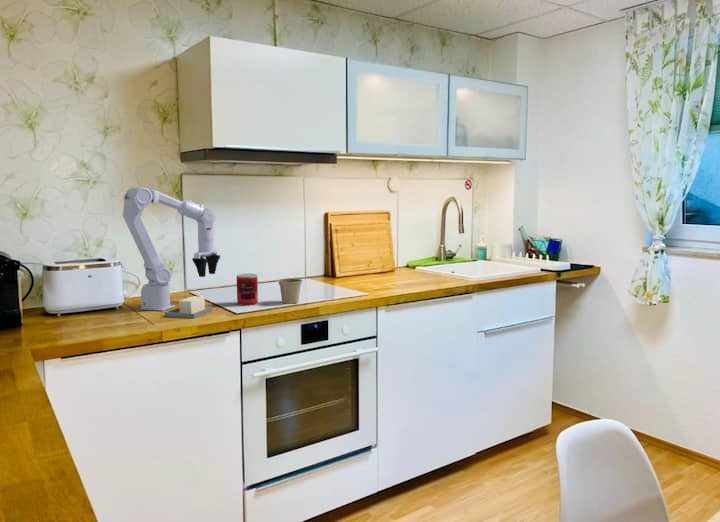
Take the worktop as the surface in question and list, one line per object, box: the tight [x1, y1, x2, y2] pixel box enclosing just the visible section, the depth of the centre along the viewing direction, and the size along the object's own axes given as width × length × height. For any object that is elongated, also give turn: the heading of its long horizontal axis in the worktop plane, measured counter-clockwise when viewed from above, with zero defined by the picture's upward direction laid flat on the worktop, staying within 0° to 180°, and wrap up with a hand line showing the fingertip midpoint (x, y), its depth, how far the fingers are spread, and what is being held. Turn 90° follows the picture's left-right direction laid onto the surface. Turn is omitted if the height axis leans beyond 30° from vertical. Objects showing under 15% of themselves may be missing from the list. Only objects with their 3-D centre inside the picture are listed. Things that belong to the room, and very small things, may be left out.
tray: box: [164, 306, 213, 319], centre depth 193 cm, size 11×12×2 cm
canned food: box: [236, 273, 259, 306], centre depth 210 cm, size 8×8×11 cm
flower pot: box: [277, 278, 303, 305], centre depth 213 cm, size 9×9×9 cm
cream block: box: [178, 295, 206, 314], centre depth 195 cm, size 4×4×9 cm
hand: (207, 275), depth 213 cm, fingers open, 7 cm apart
